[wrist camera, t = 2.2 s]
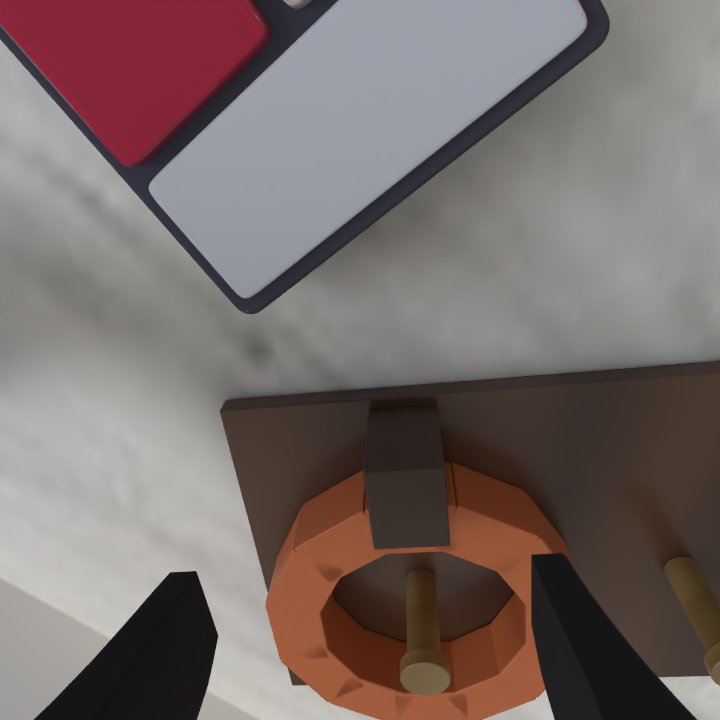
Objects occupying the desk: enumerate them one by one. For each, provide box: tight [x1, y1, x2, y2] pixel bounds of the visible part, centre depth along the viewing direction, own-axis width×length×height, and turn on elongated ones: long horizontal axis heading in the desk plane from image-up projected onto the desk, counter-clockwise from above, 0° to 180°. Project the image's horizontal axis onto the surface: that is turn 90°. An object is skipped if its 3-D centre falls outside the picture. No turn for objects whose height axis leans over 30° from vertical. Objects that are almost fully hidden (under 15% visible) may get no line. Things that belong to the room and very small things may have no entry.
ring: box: [266, 405, 575, 720], centre depth 21 cm, size 11×14×4 cm
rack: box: [220, 361, 720, 696], centre depth 21 cm, size 23×15×5 cm, turn 97°
